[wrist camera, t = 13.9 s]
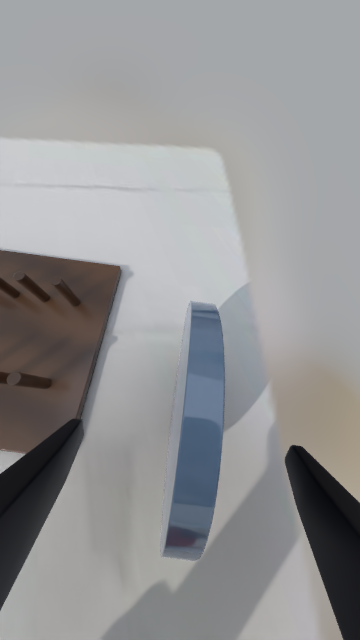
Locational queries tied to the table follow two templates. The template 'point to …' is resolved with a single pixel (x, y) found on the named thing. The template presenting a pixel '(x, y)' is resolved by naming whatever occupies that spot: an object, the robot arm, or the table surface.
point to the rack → (48, 341)
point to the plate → (194, 436)
